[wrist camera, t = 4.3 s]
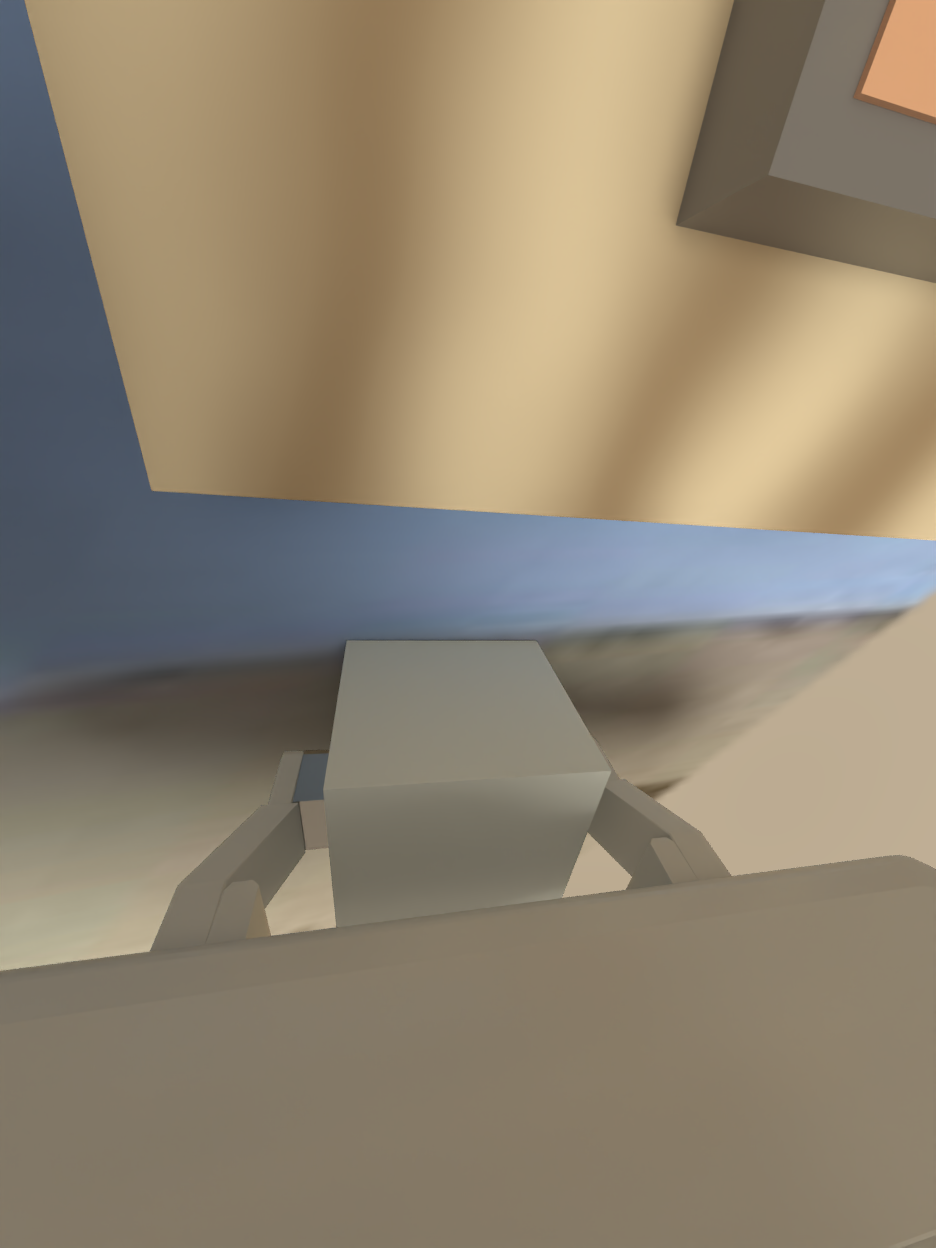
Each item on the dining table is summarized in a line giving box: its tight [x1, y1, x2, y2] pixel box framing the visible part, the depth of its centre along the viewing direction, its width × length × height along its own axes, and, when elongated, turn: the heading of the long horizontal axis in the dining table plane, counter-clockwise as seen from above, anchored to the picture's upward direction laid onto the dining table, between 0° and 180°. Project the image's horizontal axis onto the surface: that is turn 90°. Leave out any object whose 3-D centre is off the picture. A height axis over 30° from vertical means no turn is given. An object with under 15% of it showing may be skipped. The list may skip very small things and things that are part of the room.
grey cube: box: [323, 640, 611, 927], centre depth 11 cm, size 6×6×5 cm
